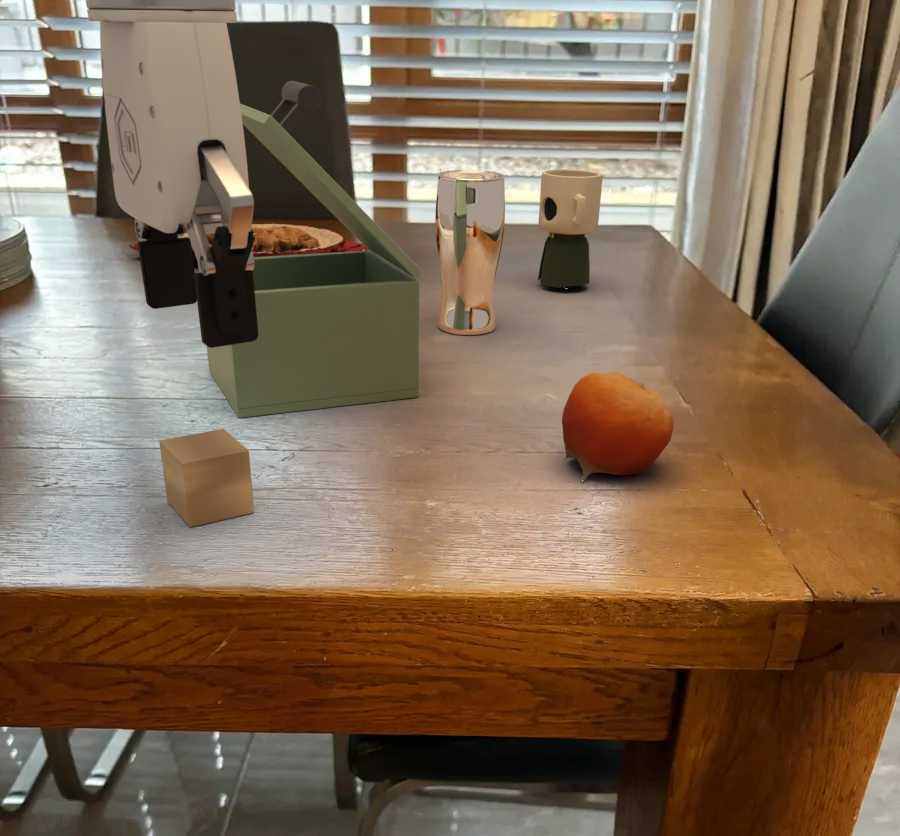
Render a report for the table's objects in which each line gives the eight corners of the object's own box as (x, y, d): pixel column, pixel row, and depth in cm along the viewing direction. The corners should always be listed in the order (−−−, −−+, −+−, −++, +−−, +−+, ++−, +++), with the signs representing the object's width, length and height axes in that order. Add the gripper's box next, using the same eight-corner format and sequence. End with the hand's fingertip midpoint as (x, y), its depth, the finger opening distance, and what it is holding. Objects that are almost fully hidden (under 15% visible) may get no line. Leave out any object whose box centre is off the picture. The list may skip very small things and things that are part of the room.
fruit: (518, 437, 73) (575, 342, 71) (593, 477, 77) (650, 388, 75) (566, 479, 66) (631, 376, 64) (645, 520, 71) (709, 424, 68)
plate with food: (295, 285, 118) (295, 256, 117) (129, 255, 127) (126, 227, 126) (389, 253, 137) (390, 227, 135) (238, 229, 146) (237, 204, 144)
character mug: (525, 277, 124) (532, 166, 117) (579, 276, 125) (589, 166, 118) (545, 298, 115) (553, 179, 108) (603, 297, 116) (615, 179, 109)
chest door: (263, 123, 69) (308, 66, 69) (227, 108, 79) (266, 58, 78) (416, 279, 79) (457, 231, 78) (367, 248, 89) (403, 205, 88)
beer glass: (462, 340, 99) (467, 181, 92) (420, 325, 104) (421, 172, 96) (513, 329, 103) (521, 176, 95) (470, 315, 108) (475, 167, 100)
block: (190, 527, 62) (181, 463, 60) (167, 502, 65) (158, 440, 63) (254, 512, 64) (249, 450, 62) (229, 488, 67) (223, 428, 65)
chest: (238, 418, 79) (227, 295, 74) (209, 371, 89) (197, 260, 84) (418, 397, 84) (419, 281, 79) (372, 355, 94) (370, 250, 89)
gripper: (44, -10, 55) (97, 300, 64) (141, -15, 42) (190, 371, 51) (174, -7, 58) (207, 286, 67) (299, -11, 46) (320, 350, 55)
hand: (200, 323), depth 59 cm, fingers open, 9 cm apart
